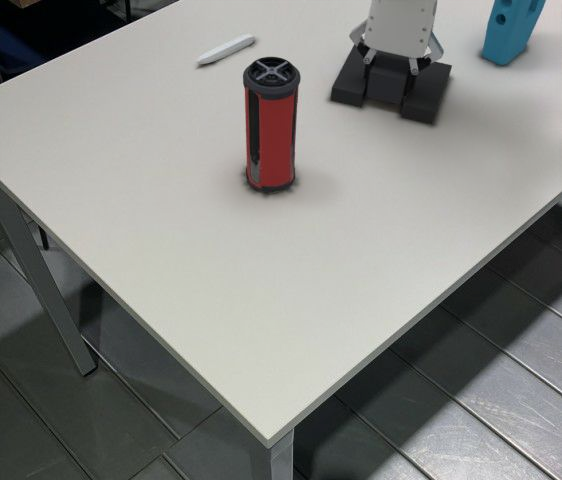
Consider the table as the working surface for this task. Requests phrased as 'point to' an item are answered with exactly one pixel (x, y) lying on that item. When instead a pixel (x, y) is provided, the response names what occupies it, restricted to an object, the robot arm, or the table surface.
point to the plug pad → (388, 78)
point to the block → (510, 28)
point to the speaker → (271, 122)
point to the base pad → (418, 101)
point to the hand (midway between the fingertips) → (388, 86)
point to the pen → (226, 49)
